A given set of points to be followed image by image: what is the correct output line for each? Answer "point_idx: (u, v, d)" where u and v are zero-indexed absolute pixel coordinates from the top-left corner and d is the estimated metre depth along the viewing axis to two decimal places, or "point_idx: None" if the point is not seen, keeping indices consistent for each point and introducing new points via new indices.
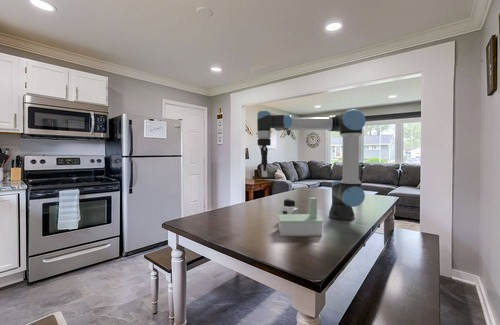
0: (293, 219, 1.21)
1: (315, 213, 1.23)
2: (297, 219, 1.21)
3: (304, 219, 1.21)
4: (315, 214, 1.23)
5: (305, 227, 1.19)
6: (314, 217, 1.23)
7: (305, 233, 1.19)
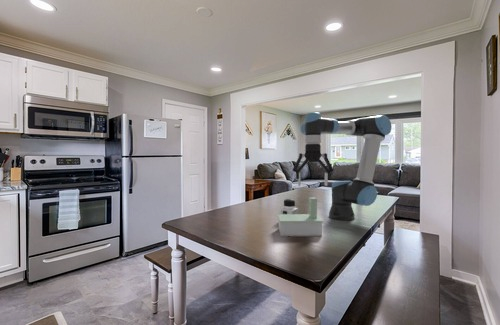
0: (293, 219, 1.21)
1: (315, 213, 1.23)
2: (297, 219, 1.21)
3: (304, 219, 1.21)
4: (315, 214, 1.23)
5: (305, 227, 1.19)
6: (314, 217, 1.23)
7: (305, 233, 1.19)
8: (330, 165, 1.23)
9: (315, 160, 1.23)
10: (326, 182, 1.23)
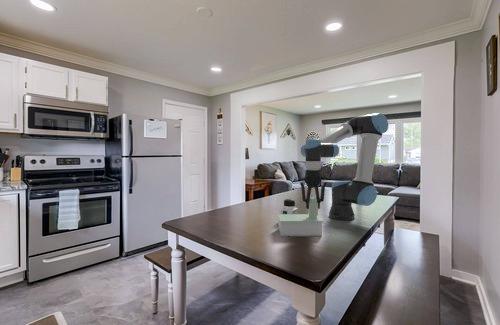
0: (293, 219, 1.21)
1: (315, 213, 1.23)
2: (297, 219, 1.21)
3: (304, 219, 1.21)
4: (315, 214, 1.23)
5: (305, 227, 1.19)
6: (314, 217, 1.23)
7: (305, 233, 1.19)
8: (323, 195, 1.23)
9: (315, 186, 1.23)
10: None
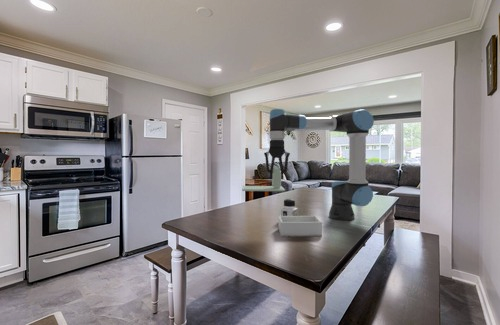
0: (256, 188, 1.22)
1: (278, 183, 1.24)
2: (260, 188, 1.22)
3: (267, 188, 1.22)
4: (278, 184, 1.24)
5: (305, 227, 1.19)
6: (277, 187, 1.24)
7: (305, 233, 1.19)
8: (286, 165, 1.24)
9: None
10: (280, 182, 1.24)
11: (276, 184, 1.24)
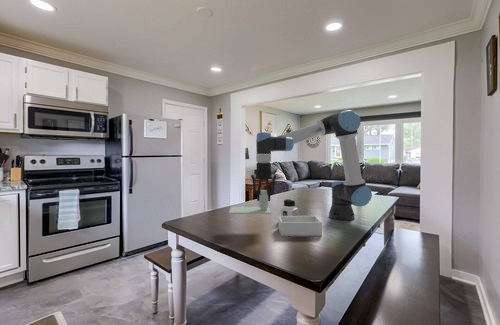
0: (243, 211, 1.24)
1: (265, 205, 1.25)
2: (247, 211, 1.24)
3: (253, 211, 1.23)
4: (265, 206, 1.25)
5: (305, 227, 1.19)
6: (264, 209, 1.25)
7: (305, 233, 1.19)
8: (273, 187, 1.25)
9: (265, 178, 1.25)
10: (267, 204, 1.26)
11: (263, 206, 1.25)
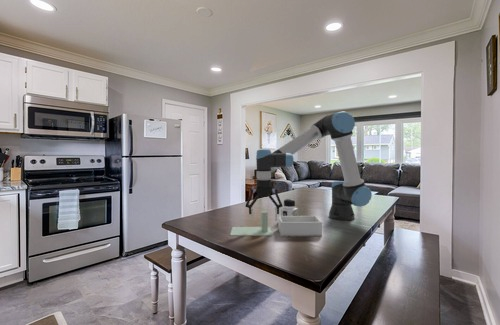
0: (244, 233, 1.24)
1: (266, 227, 1.26)
2: (248, 233, 1.24)
3: (254, 233, 1.24)
4: (266, 227, 1.26)
5: (305, 227, 1.19)
6: (265, 230, 1.26)
7: (305, 233, 1.19)
8: (280, 201, 1.26)
9: (266, 195, 1.26)
10: (275, 217, 1.26)
11: (264, 228, 1.26)
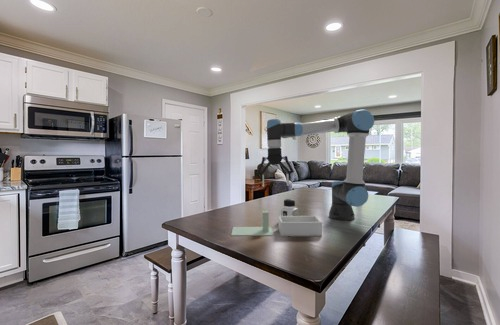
0: (245, 233, 1.24)
1: (267, 226, 1.26)
2: (249, 233, 1.24)
3: (255, 233, 1.24)
4: (267, 227, 1.26)
5: (305, 227, 1.19)
6: (266, 230, 1.26)
7: (305, 233, 1.19)
8: (290, 167, 1.34)
9: (277, 163, 1.34)
10: (287, 182, 1.34)
11: (265, 228, 1.26)
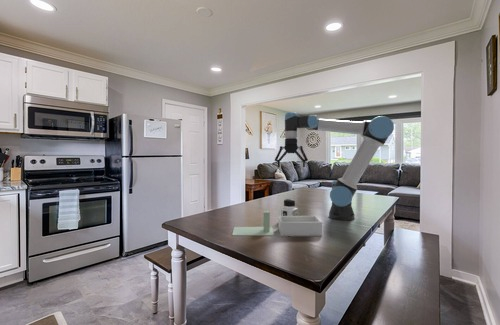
0: (246, 233, 1.24)
1: (268, 226, 1.26)
2: (250, 232, 1.24)
3: (256, 232, 1.24)
4: (268, 227, 1.26)
5: (305, 227, 1.19)
6: (267, 230, 1.26)
7: (305, 233, 1.19)
8: (305, 155, 1.49)
9: (293, 151, 1.50)
10: (302, 169, 1.50)
11: (266, 228, 1.26)
